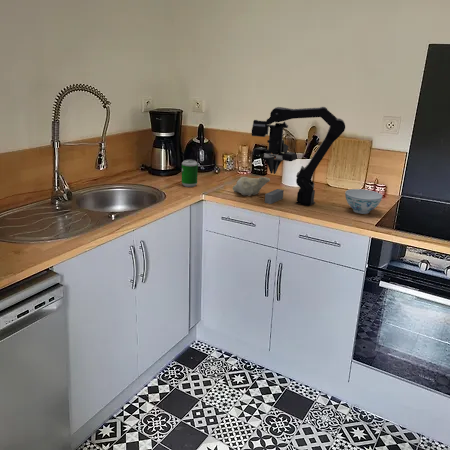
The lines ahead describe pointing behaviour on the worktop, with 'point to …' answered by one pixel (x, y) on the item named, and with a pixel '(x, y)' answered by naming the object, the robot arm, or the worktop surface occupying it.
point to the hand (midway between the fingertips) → (273, 173)
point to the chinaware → (362, 200)
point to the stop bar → (274, 196)
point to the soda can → (189, 173)
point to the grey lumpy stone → (250, 185)
